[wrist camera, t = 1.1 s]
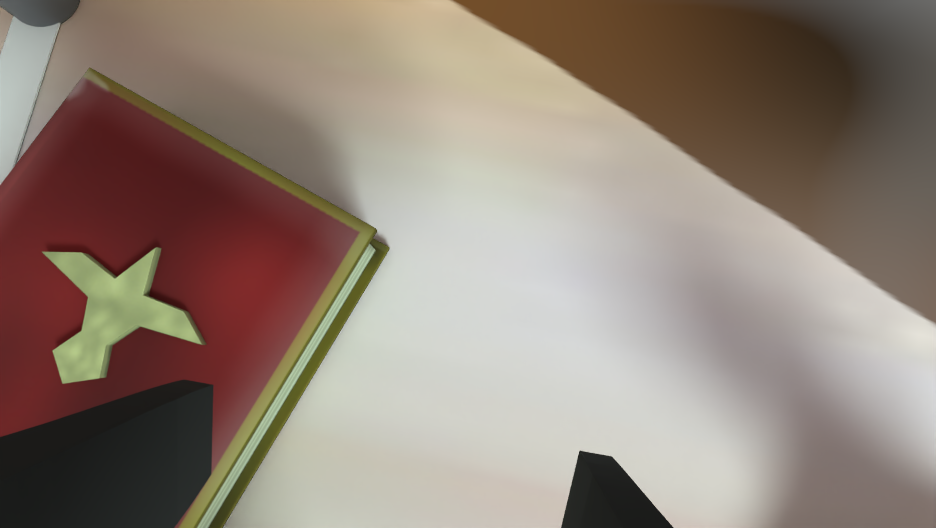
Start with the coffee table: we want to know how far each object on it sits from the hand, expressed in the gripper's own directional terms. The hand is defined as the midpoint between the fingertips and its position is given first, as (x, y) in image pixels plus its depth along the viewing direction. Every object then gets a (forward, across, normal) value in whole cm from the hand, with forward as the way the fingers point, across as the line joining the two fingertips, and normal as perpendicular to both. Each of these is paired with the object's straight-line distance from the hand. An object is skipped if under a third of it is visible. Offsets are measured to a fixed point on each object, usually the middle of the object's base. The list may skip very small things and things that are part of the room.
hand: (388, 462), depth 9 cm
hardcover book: (+8, +12, +6) cm, 16 cm away
